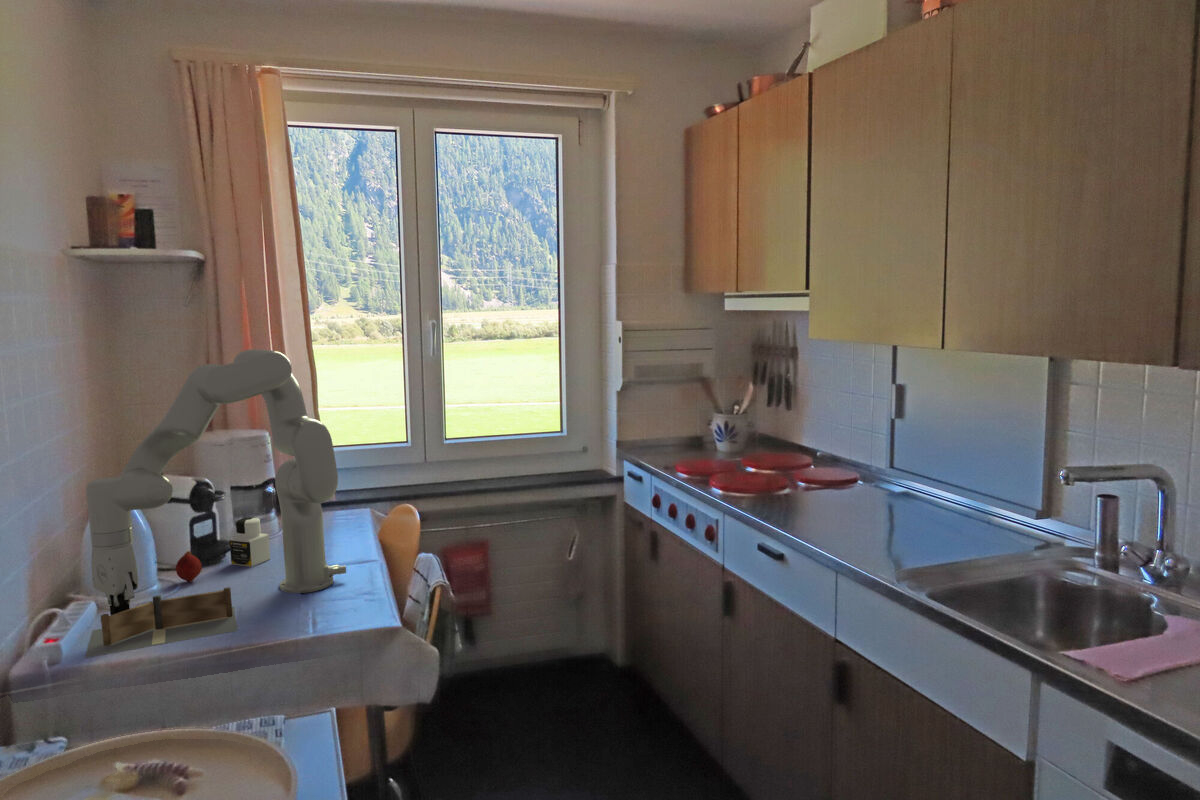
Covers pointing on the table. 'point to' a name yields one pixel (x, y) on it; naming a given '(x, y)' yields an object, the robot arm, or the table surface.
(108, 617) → the fence gate
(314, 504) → the robot arm
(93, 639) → the card
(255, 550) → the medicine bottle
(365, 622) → the table surface
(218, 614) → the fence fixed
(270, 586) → the table surface
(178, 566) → the onion
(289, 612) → the table surface
